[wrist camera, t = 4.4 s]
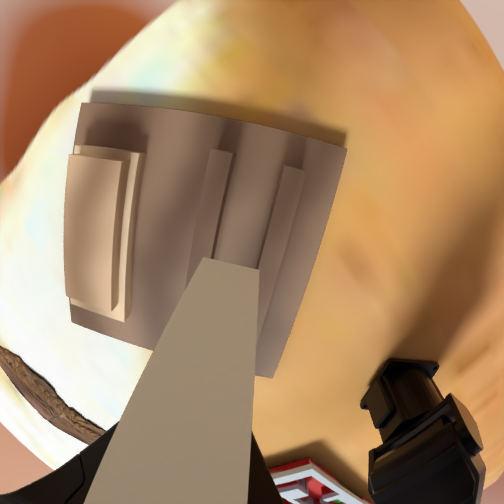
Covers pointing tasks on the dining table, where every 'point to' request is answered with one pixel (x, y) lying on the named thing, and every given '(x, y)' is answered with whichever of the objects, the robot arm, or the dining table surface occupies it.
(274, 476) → the maze game
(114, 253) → the upper oak offcut
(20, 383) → the wooden fragment
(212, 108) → the dining table surface
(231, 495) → the taupe rectangular block
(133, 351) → the dining table surface
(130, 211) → the lower oak offcut
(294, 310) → the walnut rack
